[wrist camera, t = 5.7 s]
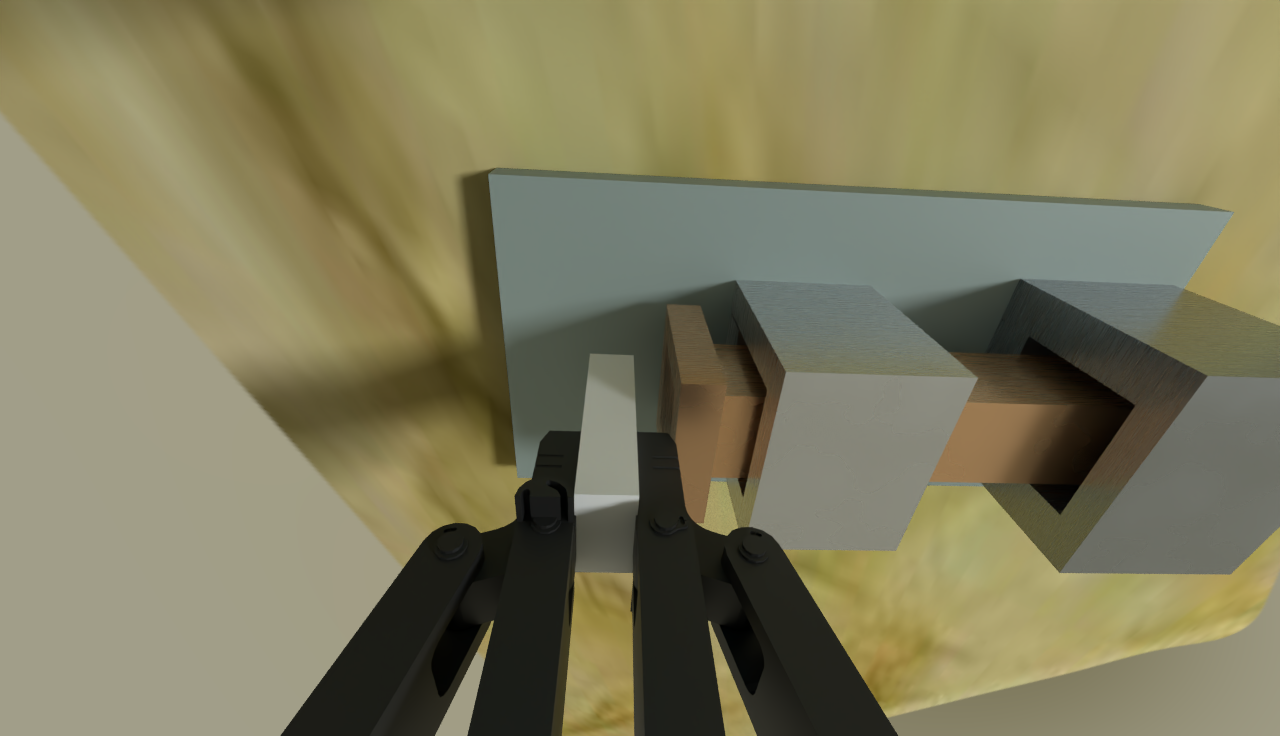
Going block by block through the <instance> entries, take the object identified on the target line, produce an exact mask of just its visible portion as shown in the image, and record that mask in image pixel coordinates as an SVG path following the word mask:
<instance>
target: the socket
mask: <svg viewBox="0 0 1280 736" xmlns="http://www.w3.org/2000/svg"><path fill="white" fill-rule="evenodd" d="M985 353H991V354H1020V355H1050V356H1061V357H1062V358H1064V359H1065V360H1067V361H1068V362H1070V363H1071V364H1073V365H1074V366H1076V367H1078V368H1079V369H1081V370H1082V371H1084V372H1085V373H1087V374H1088V375H1090V376H1091V377H1093V378H1095V379H1096V380H1098V381H1099V382H1101V383H1102V384H1104V385H1105V386H1107V387H1108V388H1110V389H1111V390H1113V391H1115V392H1116V393H1118V394H1119V395H1121V396H1122V397H1124V398H1125V399H1127V400H1128V401H1130V402H1132V403H1133V404H1135V405H1136V406H1135V407H1134V409H1133V410H1132V412H1131V413H1130V415H1129V416H1128V418H1127V419H1126V420H1125V422H1124V423H1123V425H1122V426H1121V428H1120V429H1119V431H1118V432H1117V434H1116V435H1115V436H1114V438H1113V439H1112V441H1111V442H1110V444H1109V445H1108V447H1107V448H1106V449H1105V451H1104V452H1103V454H1102V455H1101V457H1100V458H1099V460H1098V461H1097V462H1096V464H1095V465H1094V467H1093V468H1092V470H1091V471H1090V473H1089V474H1088V476H1087V477H1086V478H1085V480H1084V481H1083V483H1082V484H1081V485H1069V484H1017V483H982V485H983V486H984V487H985V488H986V489H987V490H988V491H989V493H990V494H991V495H992V496H993V497H994V498H995V499H996V501H997V502H998V503H999V504H1000V505H1001V506H1002V507H1003V509H1004V510H1005V511H1006V512H1007V513H1008V514H1009V515H1010V517H1011V518H1012V519H1013V520H1014V521H1015V522H1016V523H1017V525H1018V526H1019V527H1020V528H1021V529H1022V530H1023V531H1024V533H1025V534H1026V535H1027V536H1028V537H1029V538H1030V540H1031V541H1032V542H1033V543H1034V544H1035V545H1036V546H1037V548H1038V549H1039V550H1040V551H1041V552H1042V553H1043V554H1044V556H1045V557H1046V558H1047V559H1048V560H1049V561H1050V562H1051V564H1052V565H1053V566H1054V567H1055V568H1056V569H1057V570H1058V572H1059V573H1135V574H1231V573H1232V572H1233V571H1234V570H1235V569H1236V568H1237V567H1239V566H1240V565H1241V564H1242V563H1243V562H1244V561H1245V560H1246V559H1247V558H1248V557H1249V556H1250V555H1251V554H1252V553H1253V552H1254V551H1255V550H1256V549H1257V548H1258V547H1259V546H1260V545H1261V544H1262V543H1263V542H1264V541H1265V540H1266V539H1267V538H1268V537H1269V536H1270V535H1271V534H1272V533H1273V532H1275V531H1276V530H1277V529H1278V528H1279V527H1280V326H1278V325H1276V324H1273V323H1270V322H1268V321H1265V320H1263V319H1260V318H1258V317H1255V316H1252V315H1250V314H1247V313H1245V312H1242V311H1239V310H1237V309H1234V308H1232V307H1229V306H1226V305H1224V304H1221V303H1219V302H1216V301H1213V300H1211V299H1208V298H1206V297H1203V296H1200V295H1198V294H1195V293H1193V292H1190V291H1188V290H1185V289H1182V288H1180V287H1177V286H1175V285H1159V284H1136V283H1112V282H1088V281H1065V280H1041V279H1020V280H1019V282H1018V284H1017V286H1016V288H1015V290H1014V293H1013V295H1012V297H1011V299H1010V301H1009V303H1008V305H1007V307H1006V310H1005V312H1004V314H1003V316H1002V318H1001V320H1000V322H999V324H998V327H997V329H996V331H995V333H994V335H993V337H992V339H991V342H990V344H989V346H988V348H987V350H986V352H985Z"/></svg>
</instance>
